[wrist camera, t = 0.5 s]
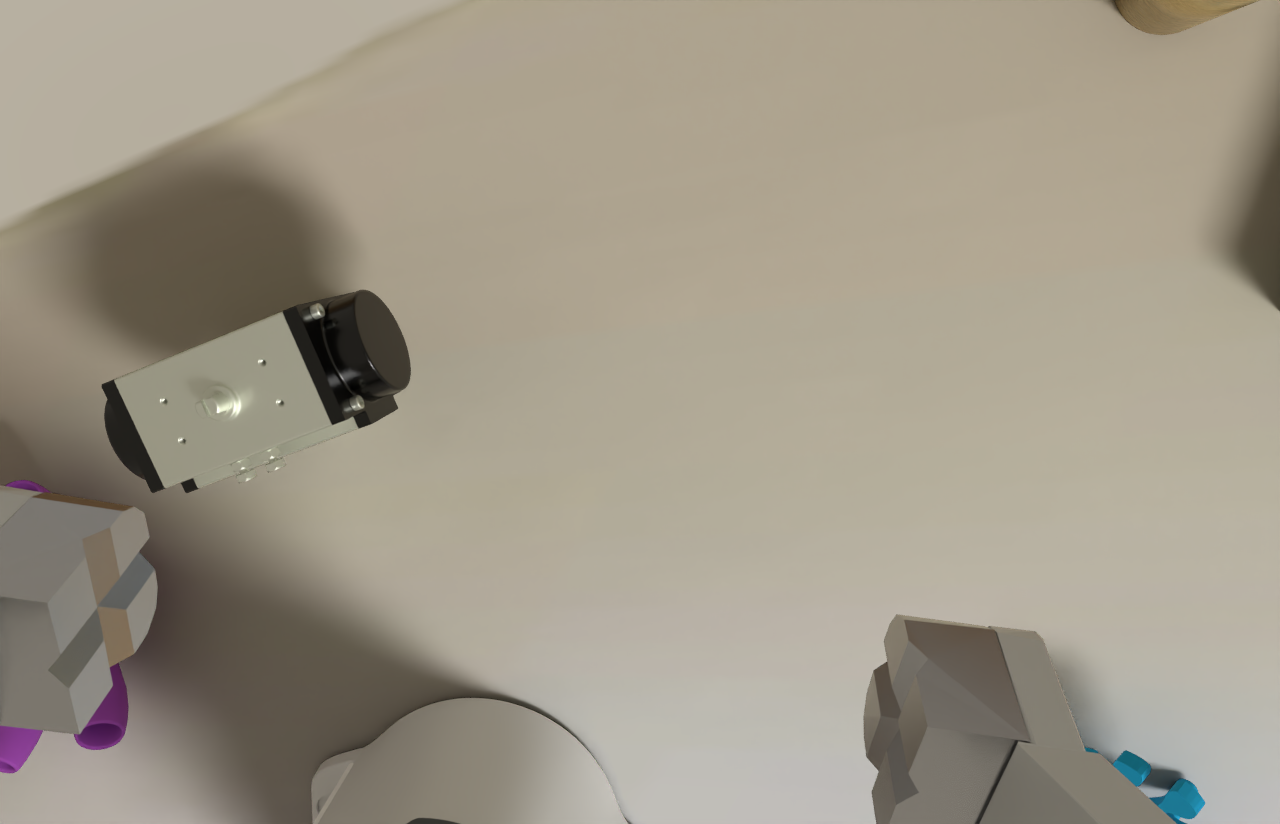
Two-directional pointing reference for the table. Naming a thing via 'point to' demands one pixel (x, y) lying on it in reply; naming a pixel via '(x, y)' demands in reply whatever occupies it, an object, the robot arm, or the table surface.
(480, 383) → the table surface
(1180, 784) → the gear
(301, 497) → the table surface
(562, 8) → the table surface
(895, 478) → the table surface
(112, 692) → the purple branching piece
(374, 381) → the pneumatic valve
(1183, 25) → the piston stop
